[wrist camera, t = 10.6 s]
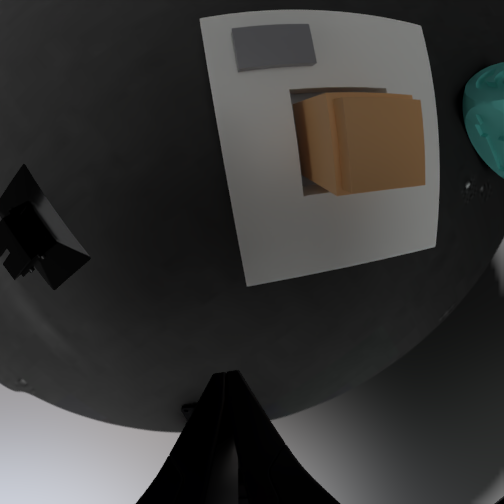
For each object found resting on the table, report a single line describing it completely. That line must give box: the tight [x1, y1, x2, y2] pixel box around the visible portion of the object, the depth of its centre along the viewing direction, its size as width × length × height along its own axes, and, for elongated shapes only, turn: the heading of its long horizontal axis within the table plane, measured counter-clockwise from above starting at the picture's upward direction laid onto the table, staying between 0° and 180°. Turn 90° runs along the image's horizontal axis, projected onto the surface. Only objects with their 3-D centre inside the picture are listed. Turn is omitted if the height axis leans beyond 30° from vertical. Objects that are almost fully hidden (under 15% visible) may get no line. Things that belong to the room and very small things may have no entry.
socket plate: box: [200, 10, 440, 287], centre depth 15 cm, size 16×14×4 cm
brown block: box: [292, 92, 425, 196], centre depth 14 cm, size 5×5×7 cm
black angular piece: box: [0, 164, 90, 290], centre depth 16 cm, size 12×7×5 cm, turn 32°
